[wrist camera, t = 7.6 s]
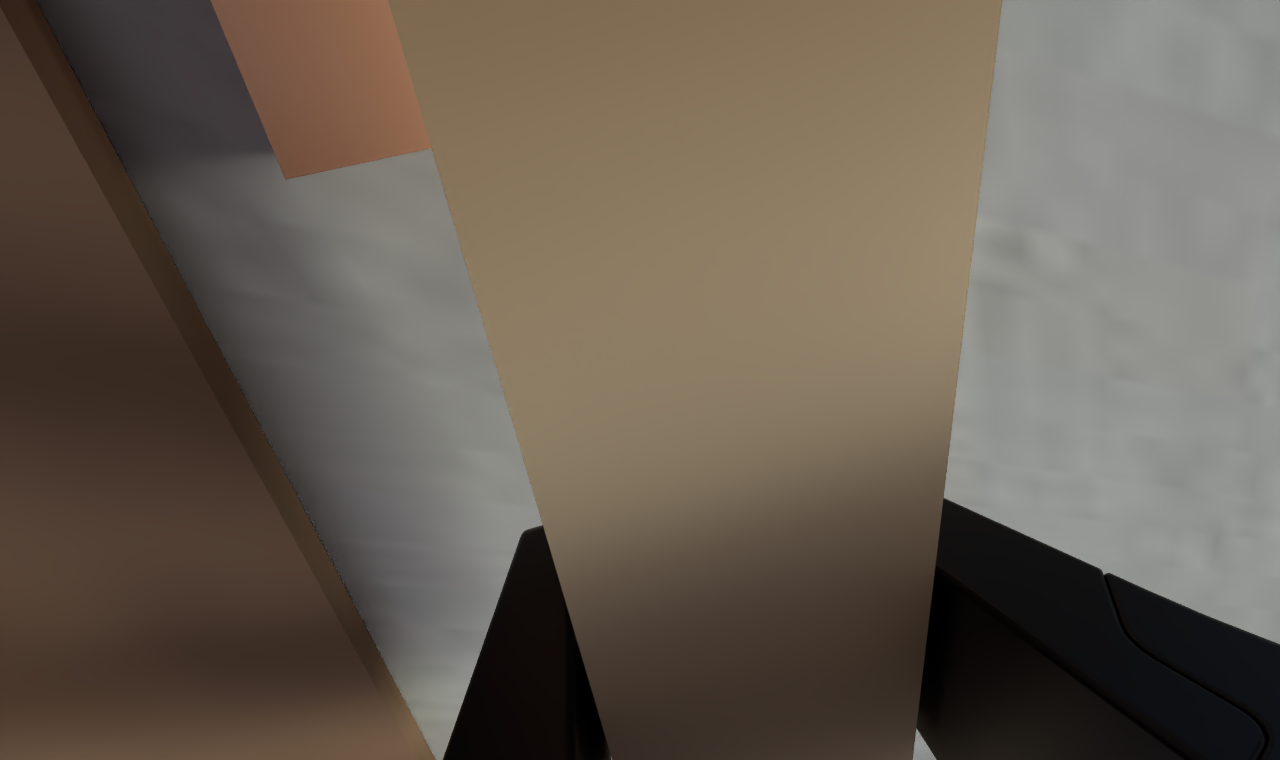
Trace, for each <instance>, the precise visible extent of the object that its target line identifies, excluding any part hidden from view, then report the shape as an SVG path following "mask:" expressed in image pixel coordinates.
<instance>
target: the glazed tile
mask: <svg viewBox="0 0 1280 760" xmlns="http://www.w3.org/2000/svg"><path fill="white" fill-rule="evenodd" d="M211 3H212V5H213V8H214V10H215V12H216V15H217V17H218V20H219V22H220V24H221V27H222V29H223V32H224V34H225V36H226V39H227V41H228V44H229V46H230V48H231V51H232V53H233V55H234V58H235V60H236V63H237V65H238V67H239V70H240V72H241V75H242V77H243V79H244V82H245V84H246V87H247V89H248V91H249V94H250V96H251V99H252V101H253V103H254V106H255V108H256V110H257V113H258V115H259V118H260V120H261V122H262V125H263V127H264V130H265V132H266V134H267V137H268V139H269V142H270V144H271V146H272V149H273V151H274V154H275V156H276V158H277V161H278V163H279V165H280V168H281V170H282V173H283V175H284V177H285V180H286V179H290V178H295V177H300V176H304V175H309V174H314V173H318V172H323V171H328V170H332V169H337V168H341V167H346V166H351V165H355V164H360V163H365V162H369V161H374V160H378V159H383V158H388V157H392V156H397V155H402V154H406V153H411V152H416V151H420V150H425V149H429V148H431V144H430V141H429V138H428V134H427V131H426V127H425V124H424V121H423V117H422V114H421V110H420V107H419V104H418V100H417V97H416V94H415V90H414V87H413V83H412V80H411V77H410V73H409V70H408V66H407V63H406V60H405V56H404V53H403V50H402V46H401V43H400V39H399V36H398V33H397V29H396V26H395V22H394V19H393V16H392V12H391V9H390V6H389V2H388V0H211Z"/></svg>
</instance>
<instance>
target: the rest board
mask: <svg viewBox="0 0 1280 760" xmlns="http://www.w3.org/2000/svg"><path fill="white" fill-rule="evenodd" d="M0 760H435V758H434V756H433V754H432V752H431V750H430V748H429V746H428V744H427V743H426V741H425V739H424V737H423V735H422V733H421V731H420V729H419V727H418V725H417V724H416V722H415V720H414V718H413V716H412V714H411V712H410V710H409V708H408V706H407V705H406V703H405V701H404V699H403V697H402V695H401V693H400V691H399V689H398V688H397V686H396V684H395V682H394V680H393V678H392V676H391V674H390V672H389V670H388V669H387V667H386V665H385V663H384V661H383V659H382V657H381V655H380V653H379V651H378V650H377V648H376V646H375V644H374V642H373V640H372V638H371V636H370V634H369V632H368V631H367V629H366V627H365V625H364V623H363V621H362V619H361V617H360V615H359V613H358V612H357V610H356V608H355V606H354V604H353V602H352V600H351V598H350V596H349V594H348V593H347V591H346V589H345V587H344V585H343V583H342V581H341V579H340V577H339V575H338V574H337V572H336V570H335V568H334V566H333V564H332V562H331V560H330V558H329V556H328V555H327V553H326V551H325V549H324V547H323V545H322V543H321V541H320V539H319V537H318V536H317V534H316V532H315V530H314V528H313V526H312V524H311V522H310V520H309V519H308V517H307V515H306V513H305V511H304V509H303V507H302V505H301V503H300V501H299V500H298V498H297V496H296V494H295V492H294V490H293V488H292V486H291V484H290V482H289V481H288V479H287V477H286V475H285V473H284V471H283V469H282V467H281V465H280V463H279V462H278V460H277V458H276V456H275V454H274V452H273V450H272V448H271V446H270V444H269V443H268V441H267V439H266V437H265V435H264V433H263V431H262V429H261V427H260V425H259V424H258V422H257V420H256V418H255V416H254V414H253V412H252V410H251V408H250V406H249V405H248V403H247V401H246V399H245V397H244V395H243V393H242V391H241V389H240V387H239V386H238V384H237V382H236V380H235V378H234V376H233V374H232V372H231V370H230V368H229V367H228V365H227V363H226V361H225V359H224V357H223V355H222V353H221V351H220V349H219V348H218V346H217V344H216V342H215V340H214V338H213V336H212V334H211V332H210V331H209V329H208V327H207V325H206V323H205V321H204V319H203V317H202V315H201V313H200V312H199V310H198V308H197V306H196V304H195V302H194V300H193V298H192V296H191V294H190V293H189V291H188V289H187V287H186V285H185V283H184V281H183V279H182V277H181V275H180V274H179V272H178V270H177V268H176V266H175V264H174V262H173V260H172V258H171V256H170V255H169V253H168V251H167V249H166V247H165V245H164V243H163V241H162V239H161V237H160V236H159V234H158V232H157V230H156V228H155V226H154V224H153V222H152V220H151V218H150V217H149V215H148V213H147V211H146V209H145V207H144V205H143V203H142V201H141V199H140V198H139V196H138V194H137V192H136V190H135V188H134V186H133V184H132V182H131V180H130V179H129V177H128V175H127V173H126V171H125V169H124V167H123V165H122V163H121V162H120V160H119V158H118V156H117V154H116V152H115V150H114V148H113V146H112V144H111V143H110V141H109V139H108V137H107V135H106V133H105V131H104V129H103V127H102V125H101V124H100V122H99V120H98V118H97V116H96V114H95V112H94V110H93V108H92V106H91V105H90V103H89V101H88V99H87V97H86V95H85V93H84V91H83V89H82V87H81V86H80V84H79V82H78V80H77V78H76V76H75V74H74V72H73V70H72V68H71V67H70V65H69V63H68V61H67V59H66V57H65V55H64V53H63V51H62V49H61V48H60V46H59V44H58V42H57V40H56V38H55V36H54V34H53V32H52V30H51V29H50V27H49V25H48V23H47V21H46V19H45V17H44V15H43V13H42V11H41V10H40V8H39V6H38V4H37V2H36V0H0Z"/></svg>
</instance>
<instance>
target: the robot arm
mask: <svg viewBox="0 0 1280 760" xmlns="http://www.w3.org/2000/svg"><path fill="white" fill-rule="evenodd" d="M916 728H917V730H918V731H919V733H920V734H921V736H922V737H923V739H924V741H925V742H926V744H927V745H928V747H929V748H930V750H931V751H932V753H933V755H934V756H935V758H936V759H937V760H1280V644H1277V643H1275V642H1272V641H1270V640H1267V639H1265V638H1262V637H1260V636H1257V635H1254V634H1252V633H1249V632H1247V631H1244V630H1242V629H1239V628H1237V627H1234V626H1232V625H1229V624H1227V623H1224V622H1221V621H1219V620H1216V619H1214V618H1211V617H1209V616H1206V615H1204V614H1202V613H1199V612H1197V611H1195V610H1192V609H1190V608H1188V607H1185V606H1183V605H1181V604H1178V603H1176V602H1174V601H1172V600H1169V599H1167V598H1165V597H1162V596H1160V595H1158V594H1155V593H1153V592H1151V591H1148V590H1146V589H1144V588H1142V587H1139V586H1137V585H1135V584H1133V583H1131V582H1128V581H1126V580H1124V579H1122V578H1120V577H1117V576H1115V575H1113V574H1111V573H1107V574H1105V575H1104V574H1103V572H1102V570H1101V569H1099V568H1097V567H1095V566H1093V565H1090V564H1088V563H1086V562H1084V561H1082V560H1079V559H1077V558H1075V557H1073V556H1071V555H1068V554H1066V553H1064V552H1062V551H1060V550H1057V549H1055V548H1053V547H1051V546H1049V545H1046V544H1044V543H1042V542H1040V541H1038V540H1035V539H1033V538H1031V537H1029V536H1026V535H1024V534H1022V533H1020V532H1018V531H1015V530H1013V529H1011V528H1009V527H1007V526H1004V525H1002V524H1000V523H998V522H996V521H993V520H991V519H989V518H987V517H985V516H982V515H980V514H978V513H976V512H974V511H971V510H969V509H967V508H965V507H963V506H960V505H958V504H956V503H954V502H952V501H949V500H947V499H945V498H943V506H942V514H941V523H940V531H939V540H938V548H937V556H936V565H935V573H934V582H933V590H932V599H931V607H930V616H929V624H928V633H927V641H926V649H925V658H924V666H923V675H922V683H921V692H920V700H919V709H918V717H917V726H916ZM443 760H611V754H610V750H609V747H608V744H607V740H606V737H605V733H604V730H603V727H602V723H601V720H600V717H599V713H598V710H597V706H596V703H595V700H594V696H593V693H592V689H591V686H590V683H589V679H588V676H587V673H586V669H585V666H584V662H583V659H582V656H581V652H580V649H579V645H578V642H577V639H576V635H575V632H574V629H573V625H572V622H571V618H570V615H569V612H568V608H567V605H566V601H565V598H564V595H563V591H562V588H561V584H560V581H559V578H558V574H557V571H556V568H555V564H554V561H553V557H552V554H551V551H550V547H549V544H548V540H547V537H546V534H545V530H544V527H543V525H542V526H538V527H535V528H531V529H528V530H526V531H524V532H523V533H522V535H521V537H520V540H519V543H518V546H517V549H516V551H515V554H514V557H513V560H512V563H511V566H510V569H509V572H508V574H507V577H506V580H505V583H504V586H503V589H502V592H501V594H500V597H499V600H498V603H497V606H496V609H495V612H494V615H493V617H492V620H491V623H490V626H489V629H488V632H487V635H486V637H485V640H484V643H483V646H482V649H481V652H480V655H479V658H478V660H477V663H476V666H475V669H474V672H473V675H472V678H471V680H470V683H469V686H468V689H467V692H466V695H465V698H464V701H463V703H462V706H461V709H460V712H459V715H458V718H457V721H456V723H455V726H454V729H453V732H452V735H451V738H450V741H449V744H448V746H447V749H446V752H445V755H444V758H443Z"/></svg>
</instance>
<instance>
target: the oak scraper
mask: <svg viewBox="0 0 1280 760" xmlns="http://www.w3.org/2000/svg"><path fill="white" fill-rule="evenodd" d="M388 2H389V6H390V9H391V12H392V16H393V19H394V22H395V26H396V29H397V33H398V36H399V39H400V43H401V46H402V50H403V53H404V56H405V60H406V63H407V66H408V70H409V73H410V77H411V80H412V83H413V87H414V90H415V94H416V97H417V100H418V104H419V107H420V110H421V114H422V117H423V121H424V124H425V127H426V131H427V134H428V138H429V141H430V144H431V148H432V151H433V154H434V158H435V161H436V165H437V168H438V171H439V175H440V178H441V182H442V185H443V188H444V192H445V195H446V199H447V202H448V205H449V209H450V212H451V215H452V219H453V222H454V226H455V229H456V232H457V236H458V239H459V243H460V246H461V249H462V253H463V256H464V259H465V263H466V266H467V270H468V273H469V276H470V280H471V283H472V287H473V290H474V293H475V297H476V300H477V303H478V307H479V310H480V314H481V317H482V320H483V324H484V327H485V331H486V334H487V337H488V341H489V344H490V347H491V351H492V354H493V358H494V361H495V364H496V368H497V371H498V375H499V378H500V381H501V385H502V388H503V391H504V395H505V398H506V402H507V405H508V408H509V412H510V415H511V419H512V422H513V425H514V429H515V432H516V436H517V439H518V442H519V446H520V449H521V452H522V456H523V459H524V463H525V466H526V469H527V473H528V476H529V480H530V483H531V486H532V490H533V493H534V496H535V500H536V503H537V507H538V510H539V513H540V517H541V520H542V524H543V527H544V530H545V534H546V537H547V540H548V544H549V547H550V551H551V554H552V557H553V561H554V564H555V568H556V571H557V574H558V578H559V581H560V584H561V588H562V591H563V595H564V598H565V601H566V605H567V608H568V612H569V615H570V618H571V622H572V625H573V629H574V632H575V635H576V639H577V642H578V645H579V649H580V652H581V656H582V659H583V662H584V666H585V669H586V673H587V676H588V679H589V683H590V686H591V689H592V693H593V696H594V700H595V703H596V706H597V710H598V713H599V717H600V720H601V723H602V727H603V730H604V733H605V737H606V740H607V744H608V747H609V750H610V754H611V757H612V760H912V759H913V751H914V742H915V734H916V726H917V717H918V709H919V700H920V692H921V683H922V675H923V666H924V658H925V649H926V641H927V633H928V624H929V616H930V607H931V599H932V590H933V582H934V573H935V565H936V556H937V548H938V540H939V531H940V523H941V514H942V506H943V497H944V489H945V480H946V472H947V463H948V455H949V447H950V438H951V430H952V421H953V413H954V404H955V396H956V387H957V379H958V370H959V362H960V354H961V345H962V337H963V328H964V320H965V311H966V303H967V294H968V286H969V277H970V269H971V261H972V252H973V244H974V235H975V227H976V218H977V210H978V201H979V193H980V184H981V176H982V168H983V159H984V151H985V142H986V134H987V125H988V117H989V108H990V100H991V91H992V83H993V74H994V66H995V58H996V49H997V41H998V32H999V24H1000V15H1001V7H1002V0H388Z"/></svg>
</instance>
